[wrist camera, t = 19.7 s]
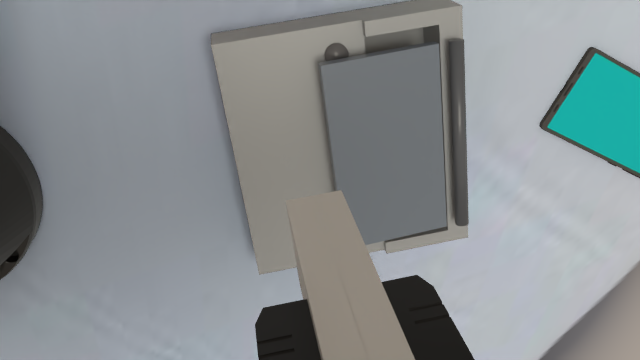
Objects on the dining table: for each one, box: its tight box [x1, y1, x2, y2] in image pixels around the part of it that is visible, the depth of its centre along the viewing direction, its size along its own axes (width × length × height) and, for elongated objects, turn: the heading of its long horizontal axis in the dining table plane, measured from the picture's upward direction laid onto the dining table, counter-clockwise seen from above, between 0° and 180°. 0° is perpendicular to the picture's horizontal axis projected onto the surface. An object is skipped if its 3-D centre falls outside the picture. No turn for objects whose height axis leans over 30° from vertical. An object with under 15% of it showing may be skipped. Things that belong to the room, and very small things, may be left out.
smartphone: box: [540, 47, 640, 178], centre depth 51 cm, size 7×1×15 cm
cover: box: [318, 38, 468, 245], centre depth 43 cm, size 10×14×1 cm
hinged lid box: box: [211, 0, 468, 275], centre depth 45 cm, size 17×18×4 cm
